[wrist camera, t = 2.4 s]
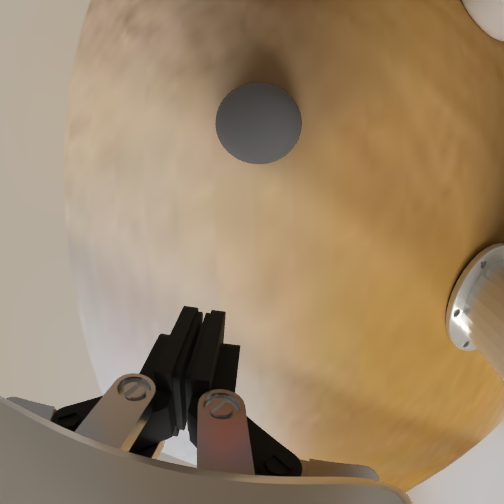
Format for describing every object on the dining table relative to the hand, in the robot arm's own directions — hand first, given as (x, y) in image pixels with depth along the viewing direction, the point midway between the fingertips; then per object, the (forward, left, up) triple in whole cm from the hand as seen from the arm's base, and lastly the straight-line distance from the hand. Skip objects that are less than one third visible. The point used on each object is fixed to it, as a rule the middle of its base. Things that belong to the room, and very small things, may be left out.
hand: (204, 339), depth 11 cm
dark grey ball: (-3, -9, -9) cm, 13 cm away
